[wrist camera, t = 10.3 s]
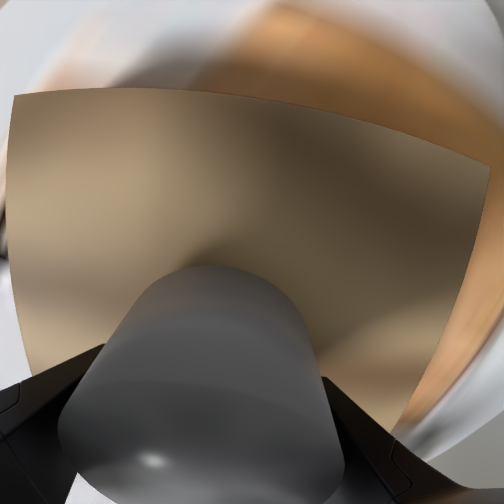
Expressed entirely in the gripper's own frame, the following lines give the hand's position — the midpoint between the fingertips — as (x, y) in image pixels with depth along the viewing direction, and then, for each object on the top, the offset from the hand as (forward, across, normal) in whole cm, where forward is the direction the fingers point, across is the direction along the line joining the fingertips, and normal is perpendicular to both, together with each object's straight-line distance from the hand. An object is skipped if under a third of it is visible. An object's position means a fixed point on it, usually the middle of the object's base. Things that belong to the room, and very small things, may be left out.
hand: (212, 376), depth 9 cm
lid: (+3, 0, 0) cm, 3 cm away
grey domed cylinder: (+1, 0, 0) cm, 1 cm away
